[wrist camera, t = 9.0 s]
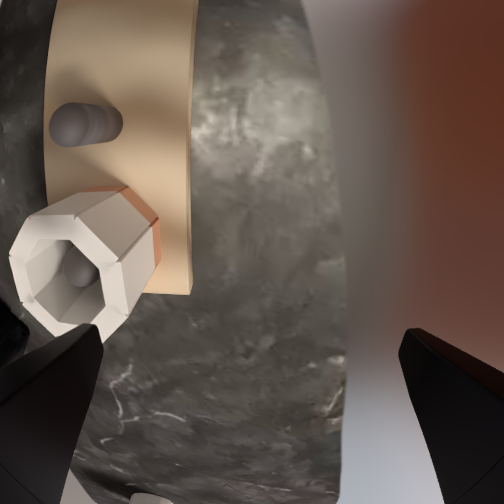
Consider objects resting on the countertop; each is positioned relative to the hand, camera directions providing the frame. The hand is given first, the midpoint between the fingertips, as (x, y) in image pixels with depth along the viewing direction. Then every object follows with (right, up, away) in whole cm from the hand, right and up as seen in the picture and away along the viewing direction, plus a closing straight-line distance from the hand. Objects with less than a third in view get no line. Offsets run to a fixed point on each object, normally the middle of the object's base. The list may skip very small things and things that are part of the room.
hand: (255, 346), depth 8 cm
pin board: (-8, +10, +8) cm, 15 cm away
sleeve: (-8, +3, +9) cm, 12 cm away
